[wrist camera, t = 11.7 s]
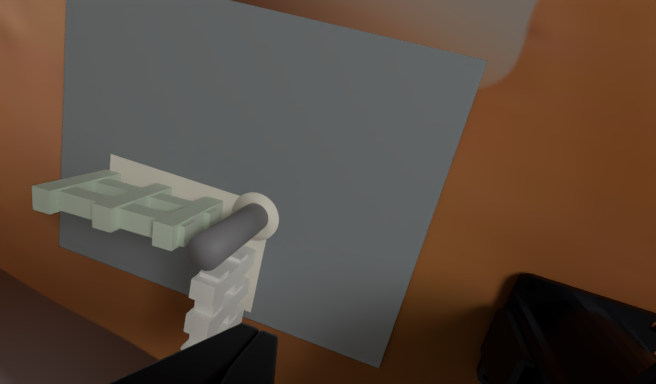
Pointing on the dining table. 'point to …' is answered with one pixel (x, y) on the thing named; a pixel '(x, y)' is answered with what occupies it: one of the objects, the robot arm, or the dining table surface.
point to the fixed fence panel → (221, 272)
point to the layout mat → (269, 150)
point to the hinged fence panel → (129, 207)
